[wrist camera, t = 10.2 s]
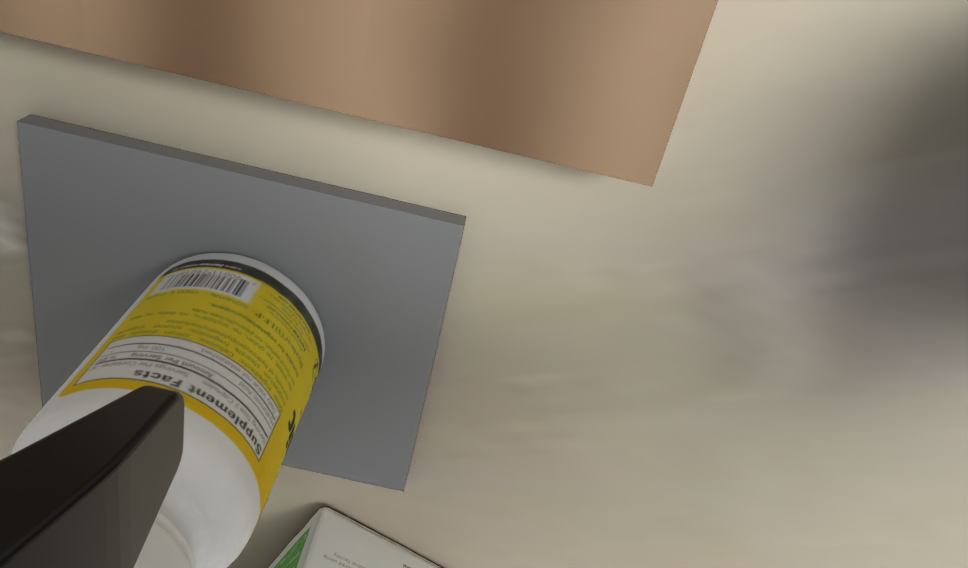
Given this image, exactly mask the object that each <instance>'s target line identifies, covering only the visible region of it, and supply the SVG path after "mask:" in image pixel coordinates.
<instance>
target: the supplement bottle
mask: <svg viewBox="0 0 968 568" xmlns="http://www.w3.org/2000/svg"><path fill="white" fill-rule="evenodd" d="M324 352H325V338H324V332H323V327H322V324H321V321H320V319H319V316H318V314H317V312H316V310H315V308H314V306H313V305H312V303H311V302H310V300H309V299H308V297H307V296H306V295H305V294H304V292H303V291H302V290H301V289H300V288H299V287H298V286H297V285H296V284H295V283H294V282H293V281H291V280H290V279H289V278H288V277H286V276H285V275H284V274H282V273H281V272H280V271H278V270H276V269H275V268H273V267H271V266H269V265H267V264H265V263H263V262H261V261H258V260H255V259H252V258H249V257H246V256H242V255H237V254H229V253H206V254H199V255H195V256H192V257H188V258H185V259H183V260H181V261H179V262H177V263H175V264H173V265H171V266H170V267H168V268H167V269H166V270H164V271H163V272H162V273H161V274H160V275H159V276H158V277H157V278H156V279H155V280H154V281H153V282H152V283H151V284H150V285H149V286H148V288H147V289H146V290H145V291H144V292H143V293H142V294H141V295H140V297H139V298H138V299H137V300H136V301H135V302H134V304H133V305H132V306H131V307H130V308H129V309H128V310H127V312H126V313H125V314H124V315H123V316H122V317H121V318H120V320H119V321H118V322H117V323H116V324H115V325H114V327H113V328H112V329H111V330H110V331H109V332H108V333H107V335H106V336H105V337H104V338H103V339H102V340H101V341H100V343H99V344H98V345H97V346H96V347H95V348H94V349H93V351H92V352H91V353H90V354H89V355H88V356H87V357H86V359H85V360H84V361H83V362H82V363H81V364H80V366H79V367H78V368H77V369H76V370H75V371H74V372H73V374H72V375H71V376H70V377H69V378H68V379H67V381H66V382H65V383H64V384H63V385H62V386H61V387H60V388H59V390H58V391H57V392H56V393H55V394H54V395H53V396H52V397H51V399H50V400H49V401H48V402H47V403H46V404H45V405H44V407H43V408H42V409H41V410H40V411H39V412H38V413H37V414H36V416H35V417H34V418H33V419H32V420H31V421H30V423H29V424H28V425H27V426H26V428H25V429H24V430H23V432H22V433H21V434H20V436H19V437H18V439H17V441H16V442H15V444H14V447H13V449H12V451H11V454H13V453H15V452H17V451H19V450H21V449H23V448H25V447H27V446H29V445H31V444H32V443H34V442H36V441H38V440H40V439H42V438H44V437H46V436H48V435H50V434H51V433H53V432H55V431H57V430H59V429H61V428H63V427H65V426H67V425H69V424H71V423H72V422H74V421H76V420H78V419H80V418H82V417H84V416H86V415H88V414H90V413H91V412H93V411H95V410H97V409H99V408H101V407H103V406H105V405H107V404H109V403H110V402H112V401H114V400H116V399H118V398H120V397H122V396H124V395H126V394H128V393H130V392H131V391H133V390H135V389H137V388H139V387H142V386H146V385H151V386H156V387H160V388H165V389H169V390H174V391H177V392H179V393H180V394H181V395H182V396H183V399H184V440H183V453H182V457H181V461H180V464H179V467H178V470H177V472H176V474H175V476H174V479H173V481H172V483H171V485H170V488H169V490H168V492H167V494H166V497H165V499H164V501H163V503H162V505H161V508H160V510H159V512H158V514H157V517H156V519H155V521H154V523H153V526H152V528H151V530H150V532H149V535H148V537H147V539H146V541H145V543H144V546H143V548H142V550H141V552H140V555H139V557H138V559H137V561H136V564H135V566H134V568H227V567H228V566H229V565H230V564H231V563H232V562H233V561H234V560H235V559H236V558H237V557H238V556H239V555H240V553H241V552H242V550H243V549H244V548H245V546H246V544H247V542H248V541H249V539H250V537H251V535H252V533H253V531H254V529H255V526H256V524H257V522H258V520H259V517H260V515H261V513H262V510H263V508H264V505H265V503H266V501H267V498H268V496H269V493H270V491H271V488H272V486H273V483H274V481H275V478H276V476H277V473H278V471H279V469H280V466H281V464H282V462H283V459H284V457H285V455H286V453H287V450H288V448H289V446H290V442H291V440H292V438H293V435H294V433H295V430H296V428H297V425H298V423H299V421H300V418H301V416H302V414H303V411H304V409H305V406H306V404H307V402H308V400H309V397H310V395H311V393H312V390H313V388H314V386H315V383H316V381H317V377H318V375H319V372H320V369H321V366H322V363H323V358H324ZM11 454H10V455H11Z"/></svg>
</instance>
